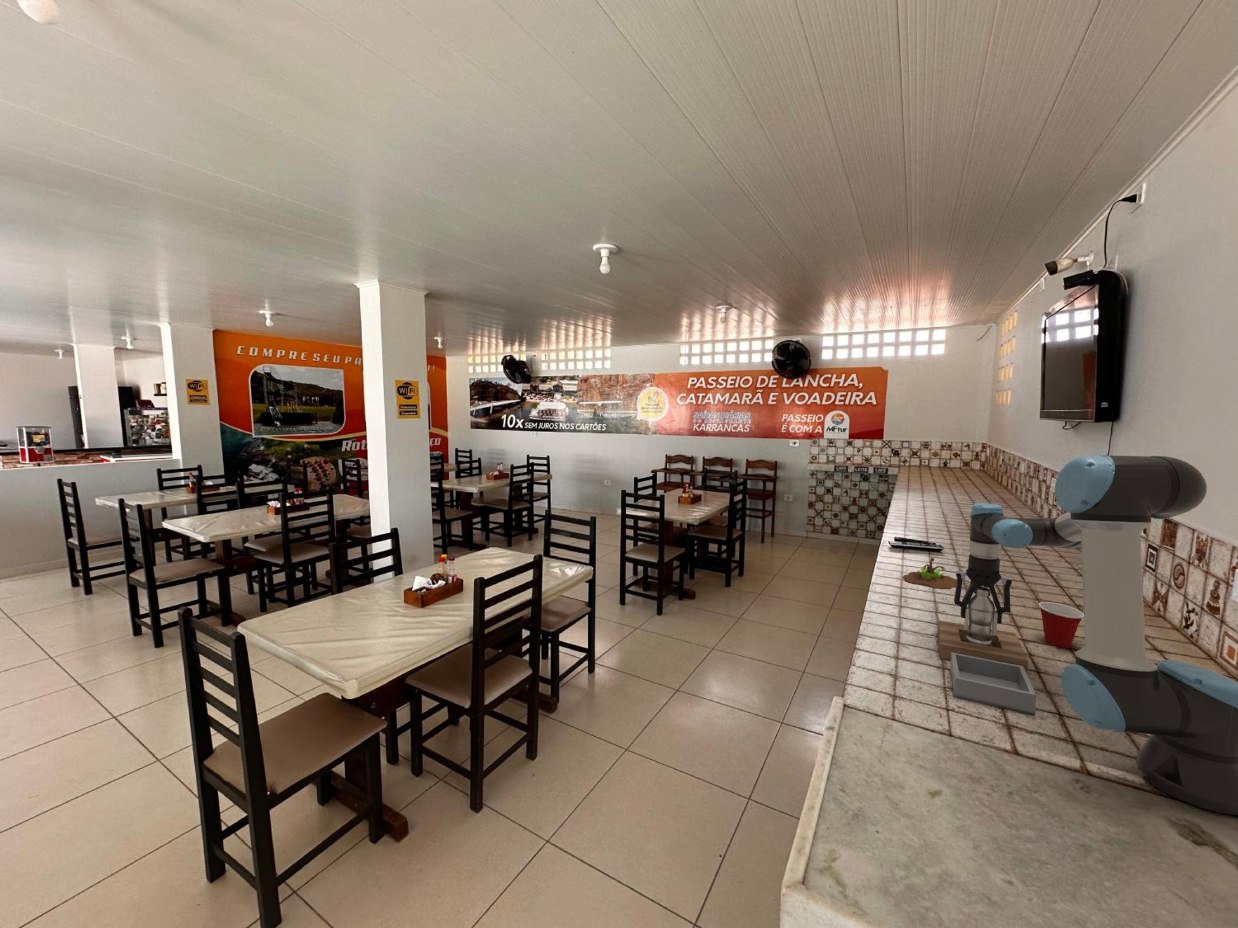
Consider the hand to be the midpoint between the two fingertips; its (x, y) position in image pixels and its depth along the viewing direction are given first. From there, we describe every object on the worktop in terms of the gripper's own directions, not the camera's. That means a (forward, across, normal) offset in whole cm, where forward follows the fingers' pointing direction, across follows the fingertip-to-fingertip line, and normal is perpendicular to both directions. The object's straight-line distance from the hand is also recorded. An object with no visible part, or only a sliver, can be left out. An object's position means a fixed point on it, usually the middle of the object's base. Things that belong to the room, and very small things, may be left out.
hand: (979, 630), depth 149 cm
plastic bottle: (+7, 0, 0) cm, 7 cm away
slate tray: (+7, 0, +24) cm, 25 cm away
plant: (+7, +10, -67) cm, 68 cm away
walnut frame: (+7, 0, 0) cm, 7 cm away
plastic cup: (+7, -22, -18) cm, 29 cm away
